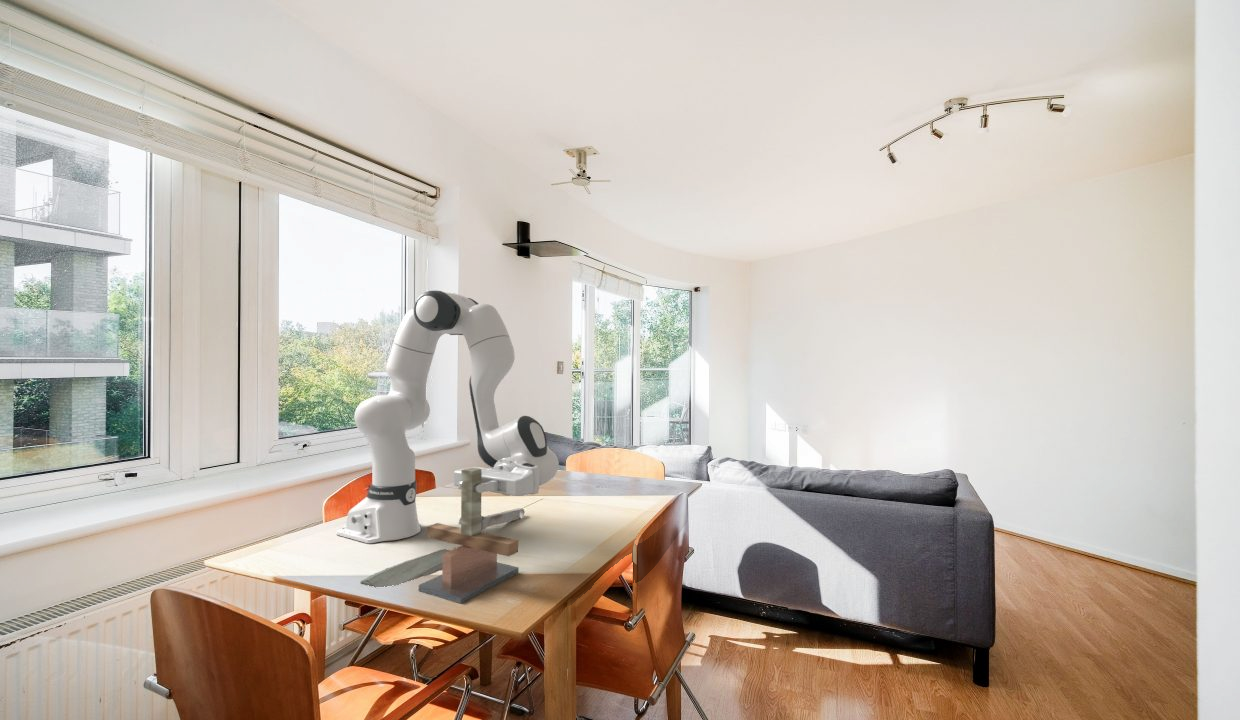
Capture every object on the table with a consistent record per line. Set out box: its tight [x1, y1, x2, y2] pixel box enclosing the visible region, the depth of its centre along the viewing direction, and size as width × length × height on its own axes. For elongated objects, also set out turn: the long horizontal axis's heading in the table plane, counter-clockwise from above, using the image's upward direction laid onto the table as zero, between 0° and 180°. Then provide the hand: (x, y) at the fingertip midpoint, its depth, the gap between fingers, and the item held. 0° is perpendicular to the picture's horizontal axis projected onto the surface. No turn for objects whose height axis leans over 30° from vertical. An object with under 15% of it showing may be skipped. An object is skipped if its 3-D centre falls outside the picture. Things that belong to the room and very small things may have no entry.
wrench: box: [458, 507, 526, 533], centre depth 155 cm, size 8×2×30 cm
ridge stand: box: [418, 545, 520, 604], centre depth 118 cm, size 12×18×8 cm, turn 151°
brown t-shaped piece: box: [426, 467, 519, 557], centre depth 118 cm, size 24×3×16 cm, turn 61°
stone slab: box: [360, 548, 451, 588], centre depth 125 cm, size 22×3×10 cm
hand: (468, 487), depth 118 cm, fingers open, 3 cm apart
